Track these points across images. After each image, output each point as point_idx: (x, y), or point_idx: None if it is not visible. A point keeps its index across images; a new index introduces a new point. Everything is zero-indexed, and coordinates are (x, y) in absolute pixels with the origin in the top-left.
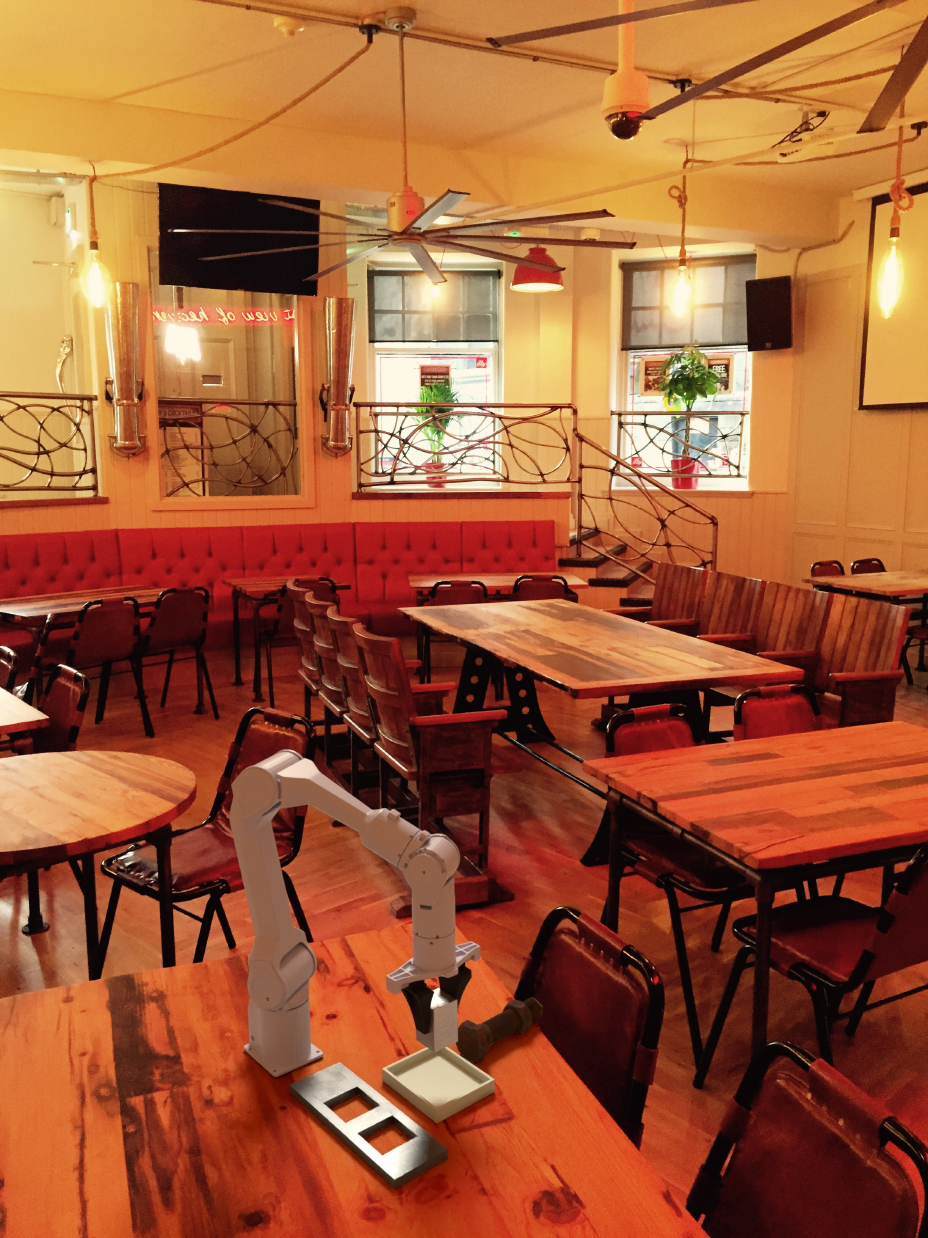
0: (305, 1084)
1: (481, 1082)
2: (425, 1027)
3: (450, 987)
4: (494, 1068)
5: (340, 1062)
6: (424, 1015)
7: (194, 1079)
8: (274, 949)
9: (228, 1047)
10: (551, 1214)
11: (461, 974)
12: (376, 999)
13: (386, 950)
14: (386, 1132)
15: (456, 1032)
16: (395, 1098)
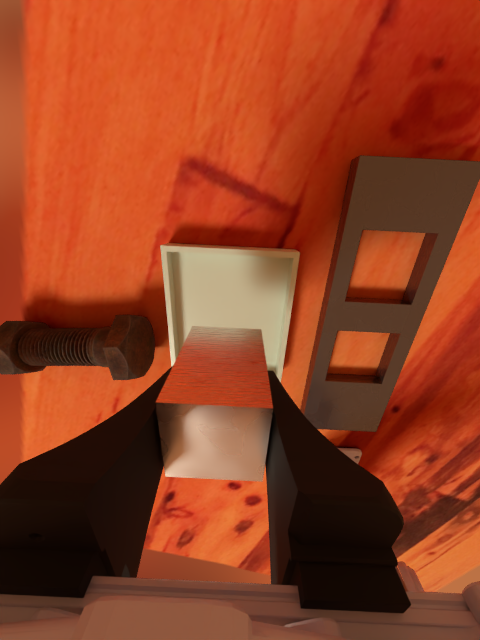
0: (363, 422)
1: (175, 270)
2: (279, 382)
3: (144, 463)
4: (130, 290)
5: None
6: (298, 410)
7: (408, 488)
8: None
9: None
10: None
11: (59, 520)
12: (173, 480)
13: None
14: (358, 288)
15: (190, 337)
16: (292, 336)
